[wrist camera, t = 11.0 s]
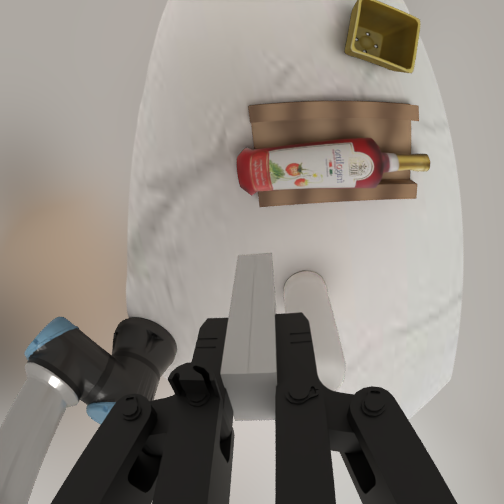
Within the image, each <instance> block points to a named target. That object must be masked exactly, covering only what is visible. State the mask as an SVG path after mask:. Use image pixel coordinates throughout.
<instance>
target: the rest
mask: <svg viewBox="0 0 504 504" xmlns="http://www.w3.org/2000/svg"><path fill="white" fill-rule="evenodd" d="M248 109H249V117H250V123H251V125H252V134H253V142H254V149H262V148H270V147H278V146H286V145H295V144H304V143H312V142H320V141H329V140H339V139H355V138H372V139H373V140H374V141H375V142H376V143H377V145H378V146H379V148H380V150H381V152H383V153H394V154H404V155H411V120H413V121H419V107H418V106H417V105H410V104H403V103H390V102H373V101H301V102H283V103H270V104H259V105H249V106H248ZM416 195H417V184H416V183H415V182H413V181H412V180H410V170H402V171H394V172H386V173H383V176H382V179H381V181H380V182H379V184H378V185H377V187H376V188H343V189H329V188H325V189H289V190H273V191H260V192H258V196H259V205H260V207H268V206H281V205H294V204H308V203H323V202H340V201H360V200H383V199H415V198H416Z"/></svg>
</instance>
